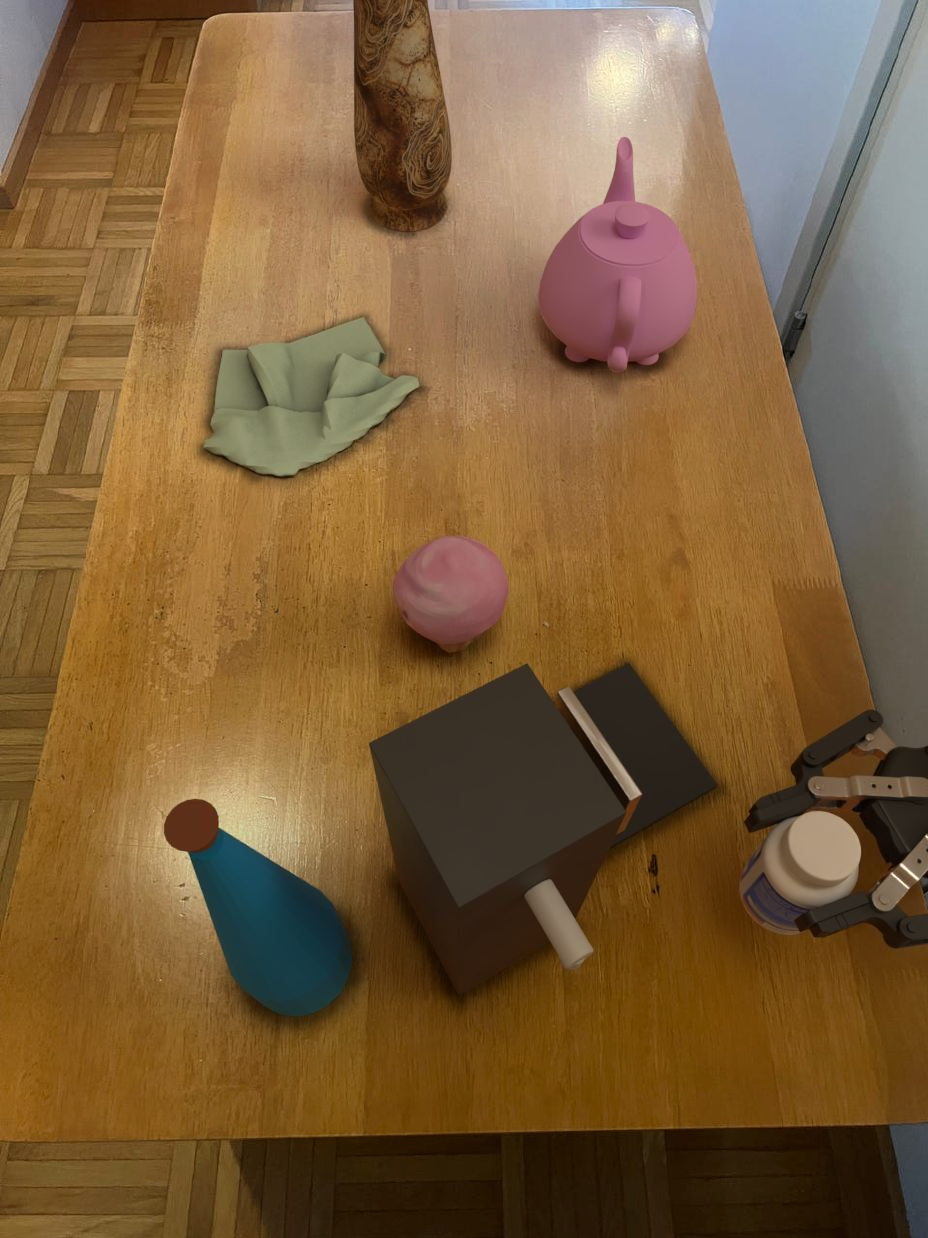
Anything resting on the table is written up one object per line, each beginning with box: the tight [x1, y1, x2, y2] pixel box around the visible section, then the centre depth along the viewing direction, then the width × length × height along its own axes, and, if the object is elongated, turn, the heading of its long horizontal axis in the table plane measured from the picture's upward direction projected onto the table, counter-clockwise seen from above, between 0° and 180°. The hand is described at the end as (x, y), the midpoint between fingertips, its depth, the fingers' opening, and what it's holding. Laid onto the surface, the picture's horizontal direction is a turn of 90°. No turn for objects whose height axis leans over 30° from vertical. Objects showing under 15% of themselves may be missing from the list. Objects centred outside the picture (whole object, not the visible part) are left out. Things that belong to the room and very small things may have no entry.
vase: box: [352, 0, 453, 232], centre depth 93 cm, size 10×11×30 cm
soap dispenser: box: [368, 663, 627, 997], centre depth 54 cm, size 13×9×26 cm
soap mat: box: [553, 662, 718, 850], centre depth 72 cm, size 12×12×1 cm
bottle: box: [163, 798, 354, 1018], centre depth 52 cm, size 7×7×30 cm
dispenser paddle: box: [554, 685, 642, 835], centre depth 51 cm, size 7×1×6 cm, turn 29°
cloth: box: [203, 316, 420, 478], centre depth 90 cm, size 20×22×2 cm
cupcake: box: [392, 535, 509, 654], centre depth 74 cm, size 9×9×10 cm
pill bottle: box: [738, 810, 862, 936], centre depth 55 cm, size 5×5×10 cm
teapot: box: [537, 136, 698, 373], centre depth 90 cm, size 22×16×14 cm
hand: (775, 872), depth 53 cm, fingers closed on pill bottle, 5 cm apart
